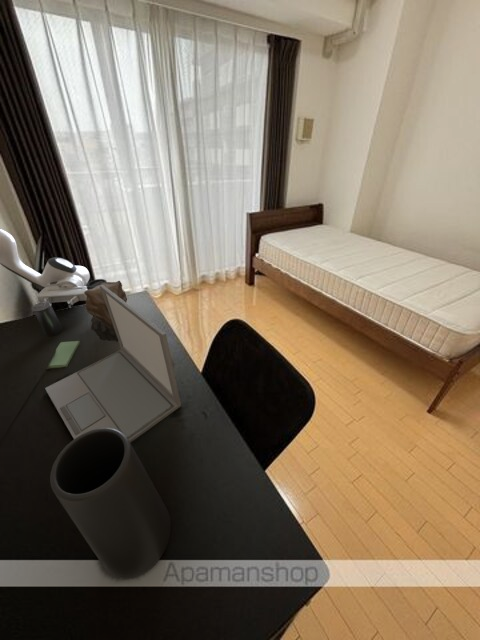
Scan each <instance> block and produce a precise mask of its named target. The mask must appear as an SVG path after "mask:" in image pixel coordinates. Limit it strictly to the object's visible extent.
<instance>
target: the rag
mask: <svg viewBox="0 0 480 640" xmlns="http://www.w3.org/2000/svg"><path fill="white" fill-rule="evenodd" d="M80 344H81V341H80V340H74V341H61V342H60V343H59V344H58V346H57V347H56V349H55V352H54V354H53V356H52V358H51V359H50V361H49V362H48V363H47V365H46V367H45V369H46V370H47V369H58V368H68V365H69V364H70V362H71V360H72V358H73V357H74V355H75V353H76V351H77V349H78V348H79V345H80Z"/></svg>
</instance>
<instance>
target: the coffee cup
mask: <svg viewBox="0 0 480 640" xmlns="http://www.w3.org/2000/svg"><path fill="white" fill-rule="evenodd" d="M104 282H108V281H107V280H106V279H103V278H96V279H93V280H89V281H88V283H87V285H86V286H87V290H88V289H93V288H95V287H96V286H99V285H101V283H104Z"/></svg>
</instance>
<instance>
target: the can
mask: <svg viewBox="0 0 480 640" xmlns="http://www.w3.org/2000/svg"><path fill="white" fill-rule="evenodd" d="M31 311H32V312H33V313H34V315H35V317H36V319H37V321H38V323H39V325H40V327H41V328H42V331H43V333H44V334H45V336H47V337H53V336H56V335H58V334H60V333H62V331H63V326H62V325H61V322H60V321H59V319H58V317H57V314H56V312H55V311H54V308H53V306H52V303H50V302H40V301H39V302H37V303H35V304H34V305H32V306H31Z"/></svg>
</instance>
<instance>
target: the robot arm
mask: <svg viewBox="0 0 480 640" xmlns="http://www.w3.org/2000/svg"><path fill="white" fill-rule="evenodd" d="M0 265H1V266H2V267H3V268H4V269H6V270H7V271H9V272H11V273H13V274H15V275H17V276H18V277H20V278H22V279H24V280H25V281H27V282H28V283H30V284H32V285H34V286H36V287H37V288H38V289H39V290H41V291H39V292H38V293H37V295H36V297H37V299H38V302H39V303H40V302H50V303H51V304H52V303H67V306H73V305H74V304H75V303H77V302H84V301H85V302H86V298H87V296H86V295H85V293H84V292H85V291H86V290H87V284H88V283H89V282H90V277H91V275H90V272H89V270H88V269H87V268H86V267H85V266H82V265H75V264H74V263H73V262H71V261H70V260H68V259H66V258H64V257H59V256H58V257H57V256H56V257H50V258H49V259H48V260H47V262H46V264H45V266H44V269H43V270H42V273H40V272H38V271H36V270H35V269H33V268H31V267H30V266H28V265H26V264H25V263H23V261H22V260H21V258H20V256H19V253H18V245H17V242H16V239H15V238H14V236H12V235H11V233H9V232H7V231H6V230H4V229H2V228H0Z"/></svg>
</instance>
